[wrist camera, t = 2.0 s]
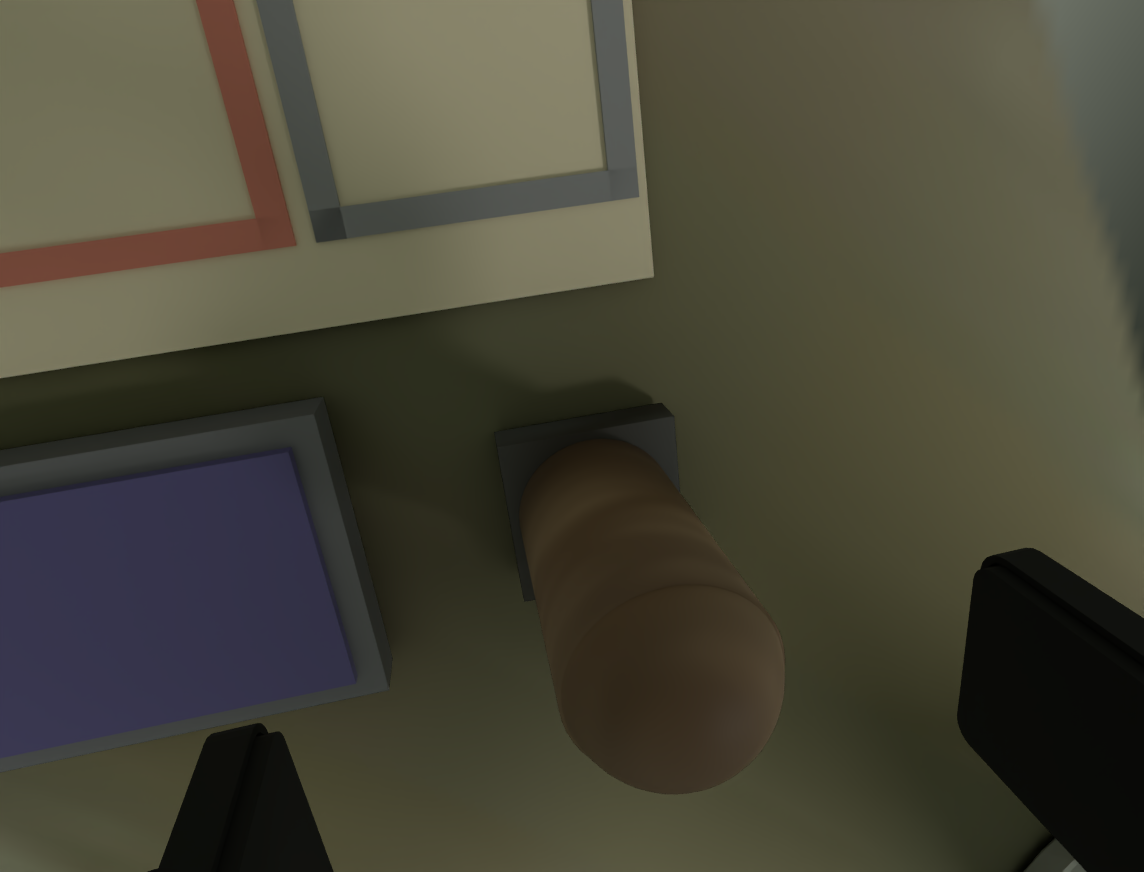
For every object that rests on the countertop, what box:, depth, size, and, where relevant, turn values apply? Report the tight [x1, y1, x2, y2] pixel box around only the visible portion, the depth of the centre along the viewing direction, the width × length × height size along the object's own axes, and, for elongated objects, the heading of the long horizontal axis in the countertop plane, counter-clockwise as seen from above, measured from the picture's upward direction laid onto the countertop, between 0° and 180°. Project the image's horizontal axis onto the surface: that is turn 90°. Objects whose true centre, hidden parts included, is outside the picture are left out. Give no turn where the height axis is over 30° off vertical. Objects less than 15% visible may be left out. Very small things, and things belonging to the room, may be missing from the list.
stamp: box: [494, 403, 785, 794], centre depth 14 cm, size 4×4×8 cm
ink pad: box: [0, 397, 393, 772], centre depth 16 cm, size 9×7×2 cm
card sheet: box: [0, 0, 654, 378], centre depth 13 cm, size 14×10×1 cm
